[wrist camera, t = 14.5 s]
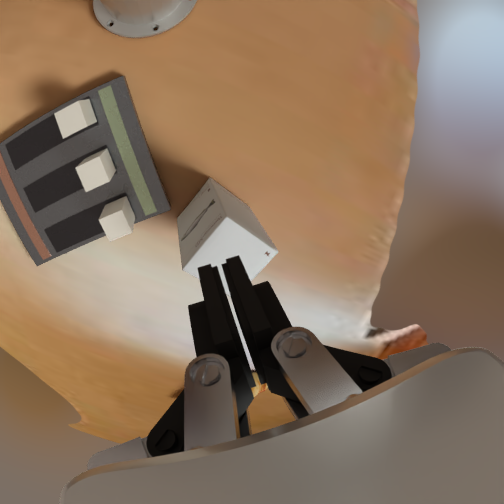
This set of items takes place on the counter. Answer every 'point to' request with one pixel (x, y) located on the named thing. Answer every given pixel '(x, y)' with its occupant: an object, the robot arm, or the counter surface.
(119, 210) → the block
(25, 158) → the panel
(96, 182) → the block
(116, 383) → the counter surface
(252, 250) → the supplement box
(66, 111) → the block
